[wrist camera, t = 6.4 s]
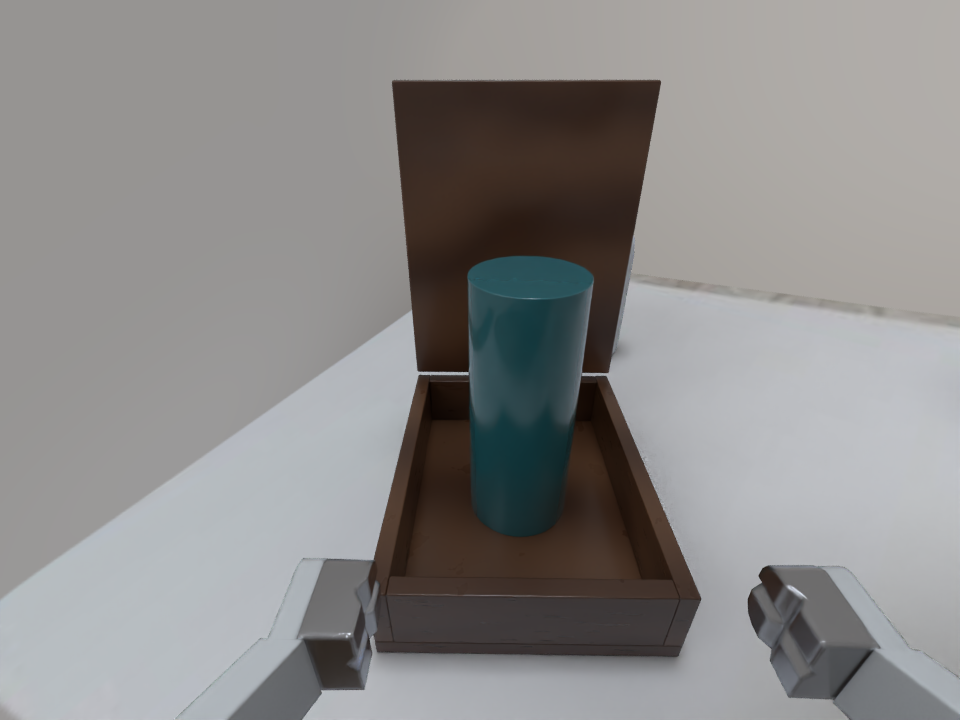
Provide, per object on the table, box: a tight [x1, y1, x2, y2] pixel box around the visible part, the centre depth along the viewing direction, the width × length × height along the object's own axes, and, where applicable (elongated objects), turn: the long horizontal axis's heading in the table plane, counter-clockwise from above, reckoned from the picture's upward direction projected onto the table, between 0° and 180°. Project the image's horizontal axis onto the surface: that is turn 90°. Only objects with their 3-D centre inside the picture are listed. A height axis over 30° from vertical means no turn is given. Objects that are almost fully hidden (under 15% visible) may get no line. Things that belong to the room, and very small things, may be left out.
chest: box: [374, 375, 701, 656], centre depth 25 cm, size 16×13×4 cm
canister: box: [467, 256, 594, 537], centre depth 22 cm, size 5×5×13 cm
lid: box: [392, 80, 661, 373], centre depth 28 cm, size 16×13×5 cm
